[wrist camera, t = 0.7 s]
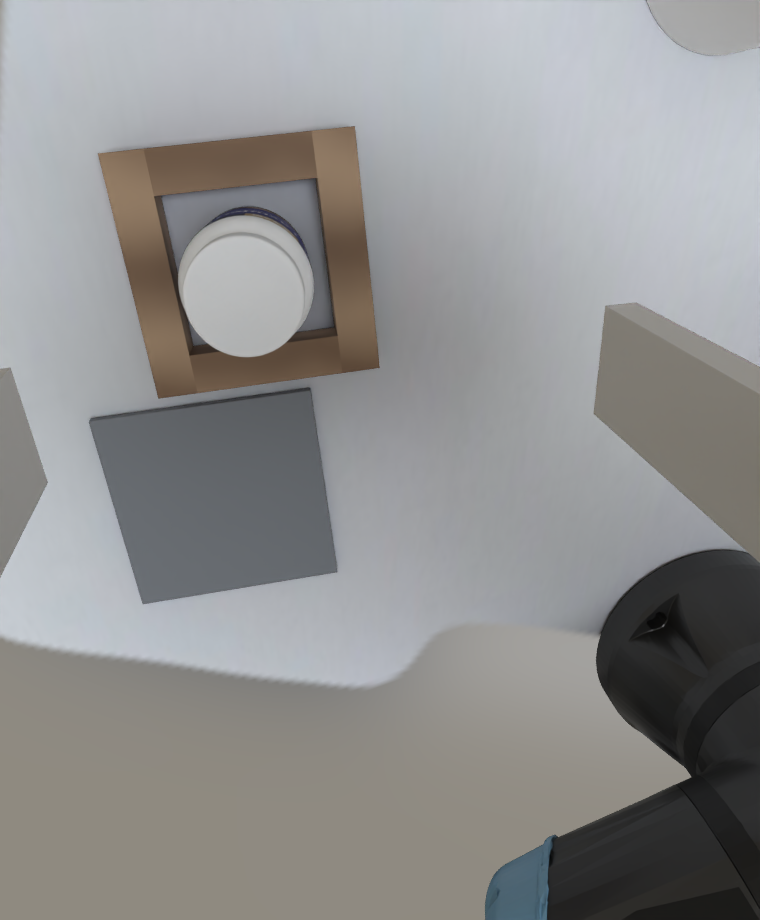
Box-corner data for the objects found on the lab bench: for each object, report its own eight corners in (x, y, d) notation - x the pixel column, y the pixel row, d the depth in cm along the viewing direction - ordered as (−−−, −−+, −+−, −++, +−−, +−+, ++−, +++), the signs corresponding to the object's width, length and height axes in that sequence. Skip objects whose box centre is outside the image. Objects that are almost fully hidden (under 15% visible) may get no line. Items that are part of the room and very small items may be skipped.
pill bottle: (302, 201, 34) (312, 216, 25) (313, 314, 37) (326, 365, 28) (186, 209, 34) (154, 227, 25) (204, 324, 36) (182, 378, 27)
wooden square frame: (374, 357, 38) (379, 367, 36) (164, 386, 37) (158, 398, 35) (350, 128, 33) (354, 126, 32) (107, 153, 32) (98, 153, 30)
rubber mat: (336, 567, 43) (337, 572, 43) (144, 599, 42) (142, 604, 42) (309, 387, 38) (310, 390, 38) (90, 418, 37) (88, 421, 37)
